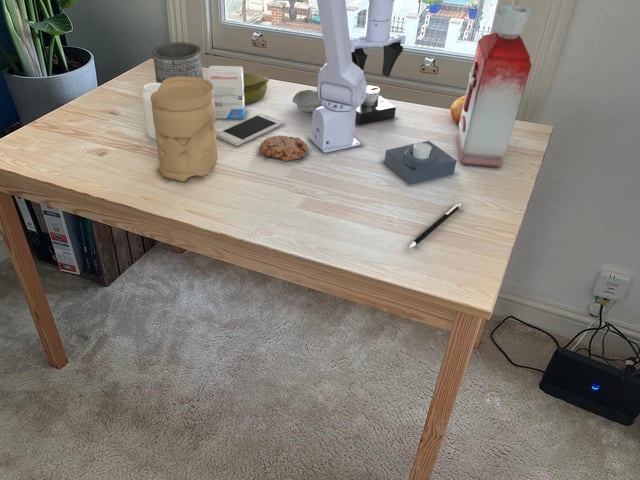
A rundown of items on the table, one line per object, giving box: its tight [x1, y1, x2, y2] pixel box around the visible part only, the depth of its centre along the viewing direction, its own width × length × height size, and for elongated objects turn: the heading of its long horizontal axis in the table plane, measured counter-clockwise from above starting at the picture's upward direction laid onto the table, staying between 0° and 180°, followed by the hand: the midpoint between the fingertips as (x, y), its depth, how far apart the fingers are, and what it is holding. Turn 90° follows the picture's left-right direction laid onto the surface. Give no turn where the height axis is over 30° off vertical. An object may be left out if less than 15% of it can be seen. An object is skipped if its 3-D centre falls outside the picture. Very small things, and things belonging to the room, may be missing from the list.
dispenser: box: [383, 140, 457, 185], centre depth 122 cm, size 11×11×5 cm
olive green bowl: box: [243, 72, 270, 104], centre depth 151 cm, size 11×12×7 cm
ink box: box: [205, 65, 246, 120], centre depth 142 cm, size 9×5×12 cm, turn 84°
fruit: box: [449, 94, 466, 126], centre depth 138 cm, size 8×8×8 cm
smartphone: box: [216, 113, 282, 147], centre depth 138 cm, size 7×15×1 cm, turn 136°
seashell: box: [292, 89, 323, 113], centre depth 145 cm, size 12×8×5 cm
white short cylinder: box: [412, 142, 432, 159], centre depth 118 cm, size 4×4×2 cm
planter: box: [152, 41, 204, 83], centre depth 150 cm, size 12×12×13 cm
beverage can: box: [141, 82, 162, 141], centre depth 133 cm, size 6×6×12 cm
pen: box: [408, 203, 462, 249], centre depth 107 cm, size 1×19×1 cm, turn 137°
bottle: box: [456, 5, 533, 168], centre depth 119 cm, size 14×10×30 cm
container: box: [151, 76, 219, 182], centre depth 119 cm, size 13×13×18 cm
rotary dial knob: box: [362, 85, 381, 107], centre depth 142 cm, size 4×4×4 cm
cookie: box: [259, 135, 308, 162], centre depth 129 cm, size 10×11×3 cm
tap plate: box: [355, 95, 397, 126], centre depth 144 cm, size 10×9×3 cm
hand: (372, 77), depth 139 cm, fingers open, 7 cm apart
